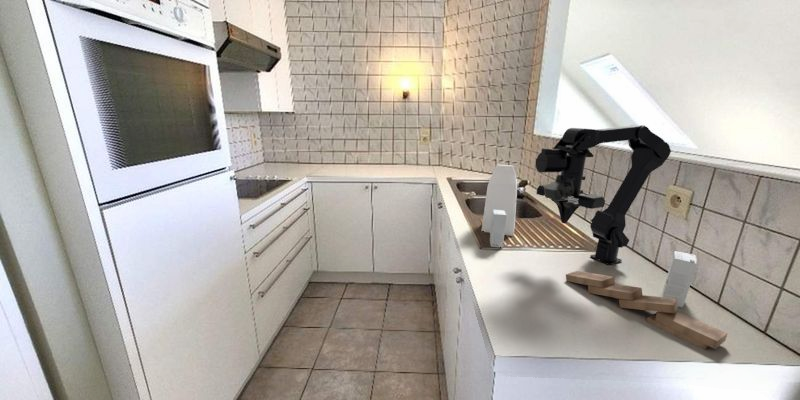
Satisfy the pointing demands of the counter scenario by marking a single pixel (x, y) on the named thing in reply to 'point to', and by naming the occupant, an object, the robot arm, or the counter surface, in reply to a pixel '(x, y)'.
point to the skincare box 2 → (680, 276)
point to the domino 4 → (674, 331)
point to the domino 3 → (651, 304)
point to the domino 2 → (618, 291)
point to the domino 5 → (692, 328)
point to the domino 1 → (590, 279)
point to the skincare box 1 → (497, 228)
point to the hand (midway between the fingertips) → (563, 222)
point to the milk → (501, 197)
